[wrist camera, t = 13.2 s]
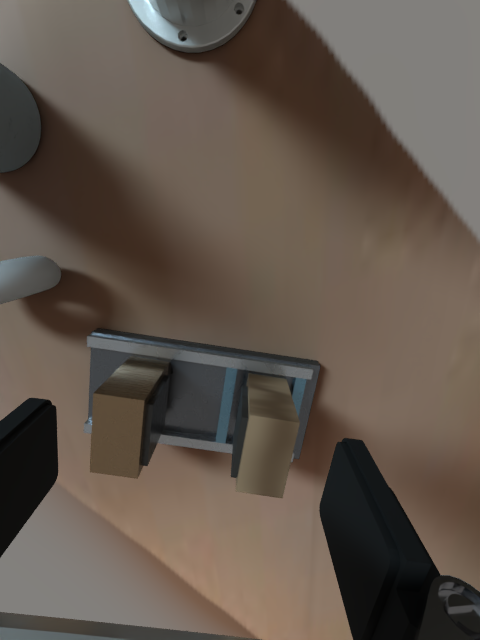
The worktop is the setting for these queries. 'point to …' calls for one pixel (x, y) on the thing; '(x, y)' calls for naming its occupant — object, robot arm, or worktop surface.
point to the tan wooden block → (264, 436)
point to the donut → (27, 277)
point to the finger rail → (175, 396)
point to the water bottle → (17, 122)
